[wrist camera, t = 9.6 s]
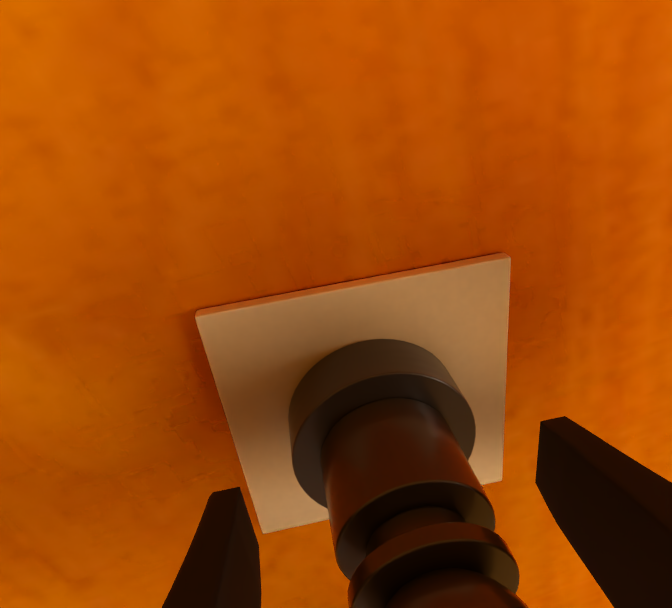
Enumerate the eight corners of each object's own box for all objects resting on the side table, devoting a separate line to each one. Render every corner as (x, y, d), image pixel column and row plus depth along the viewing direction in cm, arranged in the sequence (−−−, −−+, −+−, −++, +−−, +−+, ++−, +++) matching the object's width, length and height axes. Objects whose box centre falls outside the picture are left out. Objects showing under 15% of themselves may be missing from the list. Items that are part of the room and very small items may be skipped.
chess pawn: (403, 487, 15) (539, 872, 8) (261, 452, 13) (266, 889, 6) (484, 368, 13) (751, 717, 6) (333, 313, 12) (453, 691, 5)
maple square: (497, 471, 16) (502, 480, 16) (262, 524, 15) (262, 535, 15) (504, 251, 12) (511, 257, 12) (195, 309, 12) (194, 316, 11)
